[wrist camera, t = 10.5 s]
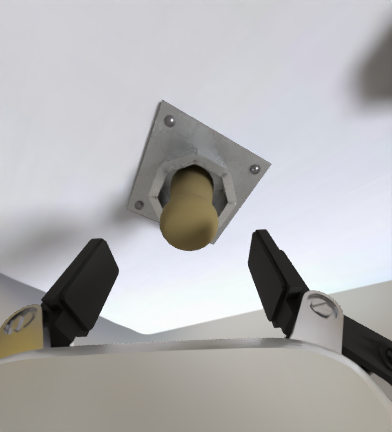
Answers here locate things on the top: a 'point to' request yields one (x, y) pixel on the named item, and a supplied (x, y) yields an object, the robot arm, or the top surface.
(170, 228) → the cork
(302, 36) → the top surface
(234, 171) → the duct collar
